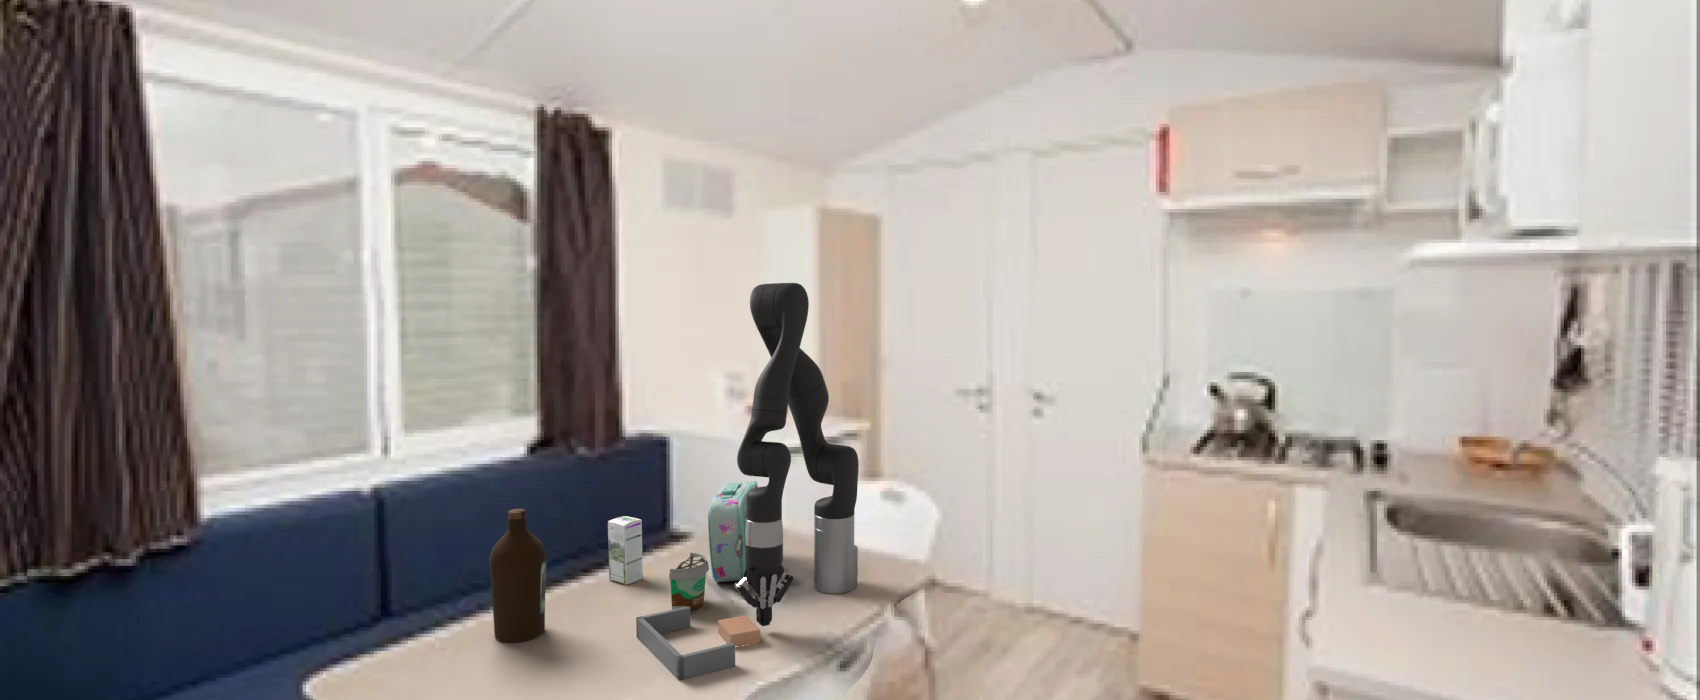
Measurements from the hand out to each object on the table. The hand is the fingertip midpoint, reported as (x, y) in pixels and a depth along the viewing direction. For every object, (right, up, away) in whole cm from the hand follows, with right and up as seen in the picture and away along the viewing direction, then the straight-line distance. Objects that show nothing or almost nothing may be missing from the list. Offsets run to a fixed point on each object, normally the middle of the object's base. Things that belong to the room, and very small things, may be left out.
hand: (764, 624), depth 176 cm
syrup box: (-35, +1, +30) cm, 46 cm away
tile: (-5, -2, -3) cm, 6 cm away
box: (-14, -2, -9) cm, 17 cm away
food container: (-16, -1, +13) cm, 21 cm away
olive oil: (-49, -2, -1) cm, 49 cm away
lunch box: (-10, +1, +37) cm, 38 cm away
